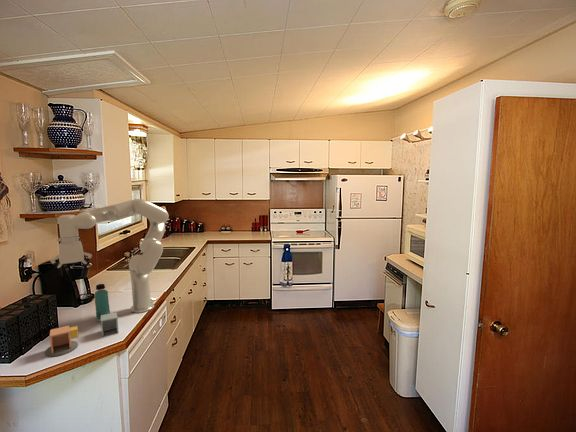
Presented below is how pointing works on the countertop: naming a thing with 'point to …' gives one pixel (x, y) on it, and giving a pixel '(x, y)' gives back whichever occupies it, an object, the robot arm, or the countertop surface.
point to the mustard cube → (73, 332)
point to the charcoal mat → (61, 349)
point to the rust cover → (60, 337)
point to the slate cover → (109, 322)
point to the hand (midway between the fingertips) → (73, 273)
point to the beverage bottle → (101, 301)
